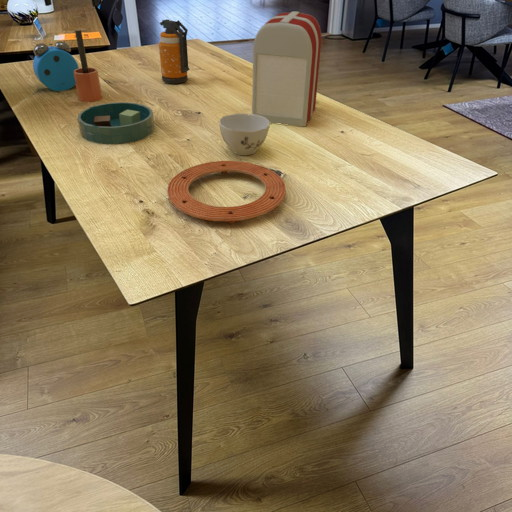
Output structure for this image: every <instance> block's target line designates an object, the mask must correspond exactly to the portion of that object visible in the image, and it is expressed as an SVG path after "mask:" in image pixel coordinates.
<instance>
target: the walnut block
mask: <svg viewBox="0 0 512 512" xmlns="http://www.w3.org/2000/svg"><path fill="white" fill-rule="evenodd" d="M94 124H95V126H103V127H112V124H111V118H110V116H95V119H94Z"/></svg>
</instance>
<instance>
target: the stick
mask: <svg viewBox="0 0 512 512" xmlns="http://www.w3.org/2000/svg"><path fill="white" fill-rule="evenodd" d="M74 34H75V39H76V44H77V49H78V55H79V60H80V67H81V68H82V71H83V73H89V70H88V68H89V65H88V60H87V55H86V49H85V43H84V38H83V33H82V30H81V29H75V30H74Z"/></svg>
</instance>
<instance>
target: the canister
mask: <svg viewBox="0 0 512 512" xmlns="http://www.w3.org/2000/svg"><path fill="white" fill-rule="evenodd" d="M159 25H160V26H162V28H163V29H164V31H162V32H160V34H159V42H158V50H159V61H160V70H161V81H162V82H165V83H167V84H173V85H178V84H182V83H184V82H186V81H188V78H189V77H188V71H190V67H189V56H188V39H187V36H188V31H189V30H188V28H187V27H185V26H184V24H183V23H182V22H181V21H180V20H177V21H176V20H170V19H162V20H161V21H160V22H159Z"/></svg>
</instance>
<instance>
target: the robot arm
mask: <svg viewBox="0 0 512 512" xmlns="http://www.w3.org/2000/svg"><path fill="white" fill-rule="evenodd" d="M43 1H44V6H45V7H49V6H52V5H53V3H52V0H43ZM91 4H92V7H94V8H95V7H98V6H99V0H91Z"/></svg>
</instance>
